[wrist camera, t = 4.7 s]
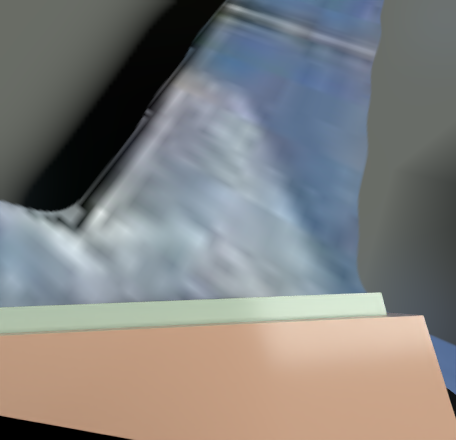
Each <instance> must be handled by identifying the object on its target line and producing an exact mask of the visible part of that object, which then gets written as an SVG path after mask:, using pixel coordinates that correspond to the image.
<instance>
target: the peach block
mask: <svg viewBox="0 0 456 440" xmlns="http://www.w3.org/2000/svg"><path fill="white" fill-rule="evenodd" d="M0 440H456V417H455V414H454V411H453V408H452V405H451V402H450V399H449V395H448V392H447V389H446V386H445V383H444V380H443V376H442V373H441V370H440V367H439V364H438V361H437V358H436V354H435V351H434V348H433V345H432V342H431V339H430V335H429V332H428V329H427V326H426V323H425V320H424V317H423V316H422V315H409V314H396V313H386V309H385V306H384V302H383V298H382V294H381V293H359V294H334V295H308V296H283V297H257V298H232V299H206V300H181V301H155V302H130V303H104V304H79V305H53V306H28V307H2V308H0Z"/></svg>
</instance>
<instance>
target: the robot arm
mask: <svg viewBox="0 0 456 440" xmlns="http://www.w3.org/2000/svg"><path fill="white" fill-rule="evenodd" d="M446 389H447V392H448V395H449V399H450V402H451V405H452V408H453V411H454V414H455V417H456V394H454V393H453V392H452V391H450V390H449V389H448V388H446Z"/></svg>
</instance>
